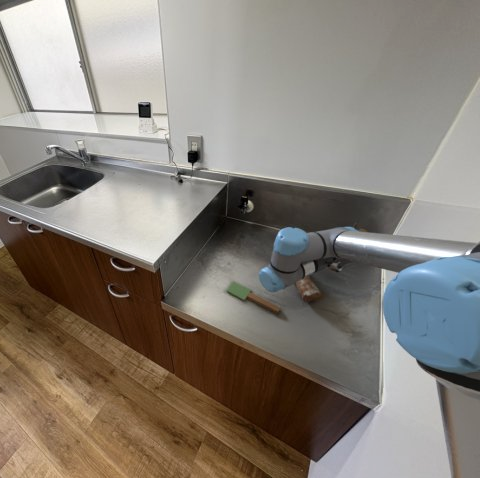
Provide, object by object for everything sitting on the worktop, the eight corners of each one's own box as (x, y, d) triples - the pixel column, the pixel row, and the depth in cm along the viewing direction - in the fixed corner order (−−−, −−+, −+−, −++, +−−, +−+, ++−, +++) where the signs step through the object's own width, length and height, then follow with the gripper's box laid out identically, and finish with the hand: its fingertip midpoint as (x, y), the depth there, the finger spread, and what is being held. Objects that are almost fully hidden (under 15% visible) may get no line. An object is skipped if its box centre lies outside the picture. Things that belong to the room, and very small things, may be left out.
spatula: (281, 306, 85) (282, 304, 84) (275, 317, 82) (276, 315, 81) (233, 282, 95) (233, 280, 94) (226, 291, 92) (226, 289, 91)
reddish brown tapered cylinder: (302, 305, 84) (306, 295, 81) (283, 264, 99) (286, 254, 95) (321, 304, 84) (326, 294, 80) (299, 264, 98) (303, 253, 95)
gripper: (277, 251, 86) (325, 230, 92) (332, 295, 71) (386, 266, 77) (281, 235, 82) (332, 213, 87) (342, 277, 66) (398, 248, 72)
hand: (357, 238), depth 82 cm, fingers closed on kendama, 8 cm apart
